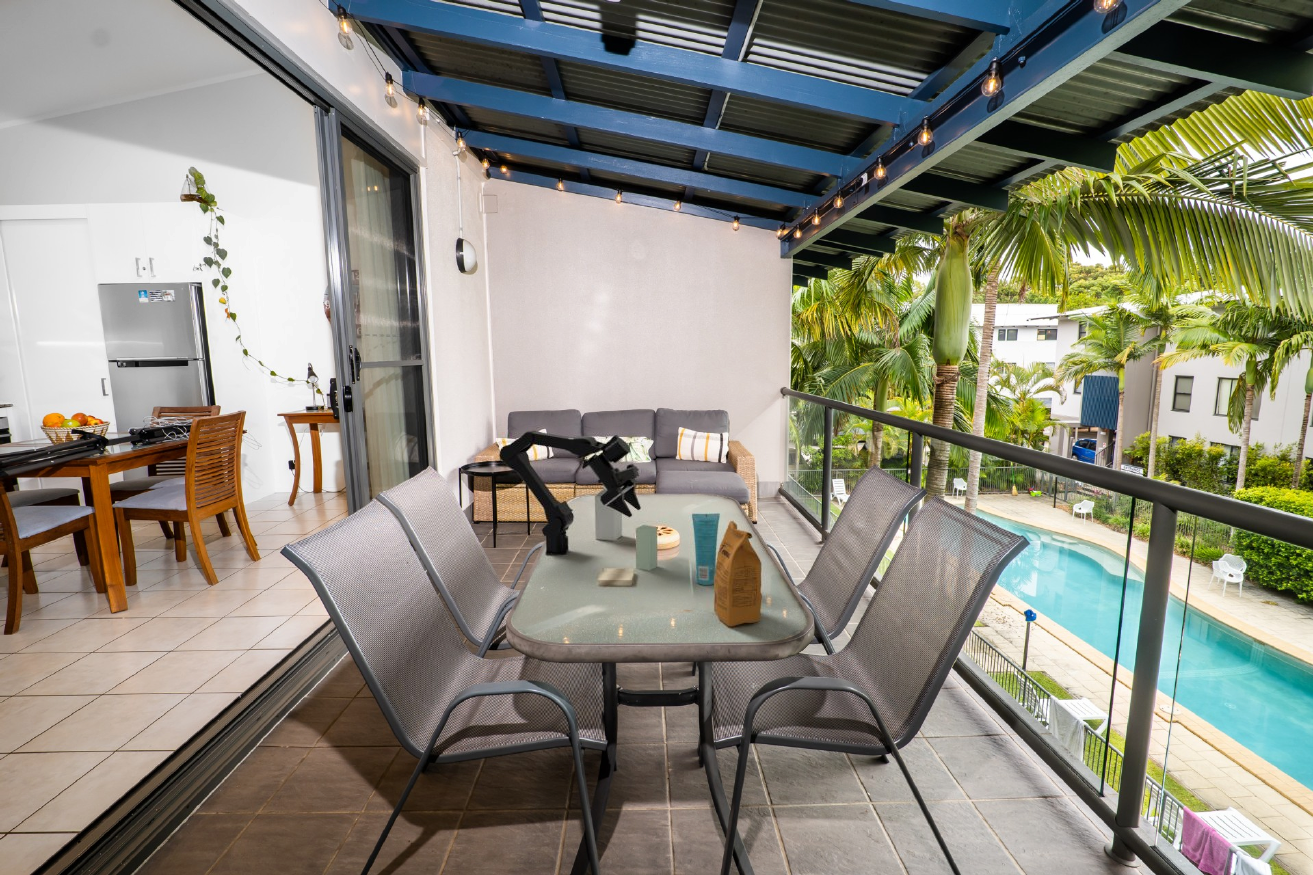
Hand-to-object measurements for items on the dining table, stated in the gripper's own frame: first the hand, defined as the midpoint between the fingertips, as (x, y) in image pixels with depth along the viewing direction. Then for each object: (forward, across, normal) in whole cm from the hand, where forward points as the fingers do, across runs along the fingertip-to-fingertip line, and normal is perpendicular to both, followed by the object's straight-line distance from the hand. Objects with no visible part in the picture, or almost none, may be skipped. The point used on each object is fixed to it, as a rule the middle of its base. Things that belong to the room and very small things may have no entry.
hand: (635, 512), depth 184 cm
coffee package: (+33, -35, -19) cm, 52 cm away
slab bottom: (+12, -21, +9) cm, 26 cm away
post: (+15, -9, +4) cm, 18 cm away
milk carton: (+2, +19, +21) cm, 28 cm away
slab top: (+11, -21, +8) cm, 25 cm away
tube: (+26, -15, -10) cm, 32 cm away
